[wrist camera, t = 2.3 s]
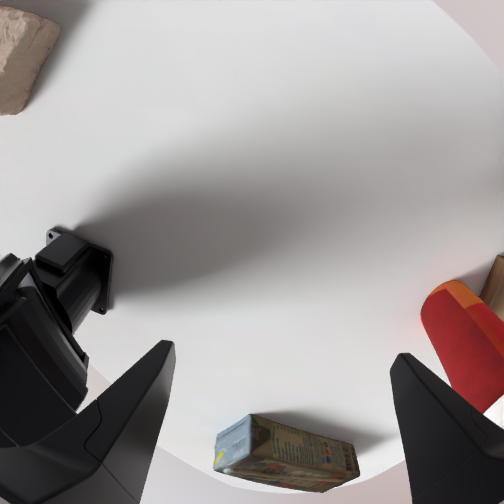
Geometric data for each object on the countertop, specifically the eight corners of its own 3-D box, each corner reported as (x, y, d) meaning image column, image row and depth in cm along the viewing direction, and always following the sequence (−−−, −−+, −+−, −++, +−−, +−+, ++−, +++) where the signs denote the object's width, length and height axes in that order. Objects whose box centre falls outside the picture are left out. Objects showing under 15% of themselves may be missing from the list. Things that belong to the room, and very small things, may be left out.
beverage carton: (250, 409, 30) (249, 459, 24) (356, 441, 35) (364, 478, 29) (214, 433, 33) (210, 476, 27) (318, 461, 38) (322, 495, 32)
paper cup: (415, 347, 25) (467, 462, 13) (403, 294, 23) (480, 430, 10) (475, 312, 24) (542, 409, 11) (473, 255, 21) (570, 357, 8)
